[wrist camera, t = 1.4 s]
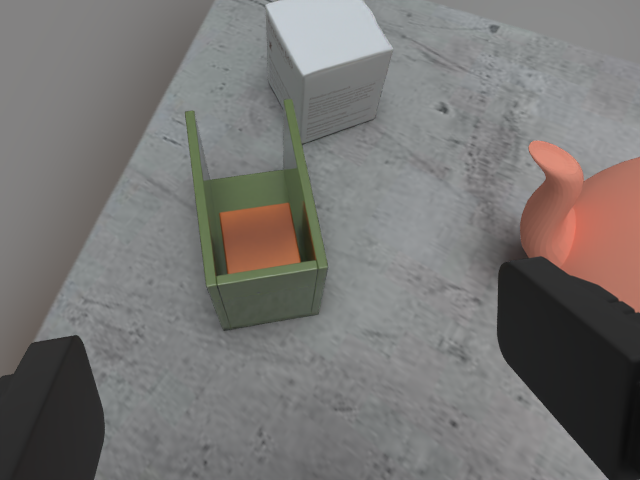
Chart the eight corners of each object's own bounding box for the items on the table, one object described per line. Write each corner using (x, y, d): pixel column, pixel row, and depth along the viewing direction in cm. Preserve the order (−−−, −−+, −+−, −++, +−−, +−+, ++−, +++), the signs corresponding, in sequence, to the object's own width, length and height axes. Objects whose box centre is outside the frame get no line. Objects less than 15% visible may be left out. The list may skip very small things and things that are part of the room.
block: (300, 290, 34) (302, 266, 30) (234, 301, 34) (228, 278, 30) (288, 231, 36) (289, 201, 32) (225, 240, 35) (218, 212, 31)
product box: (265, 80, 41) (262, 1, 34) (341, 57, 42) (352, -24, 36) (298, 147, 39) (301, 76, 32) (377, 120, 40) (396, 47, 33)
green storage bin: (318, 314, 34) (328, 267, 27) (222, 331, 33) (206, 287, 26) (290, 172, 38) (292, 98, 31) (203, 184, 37) (184, 111, 30)
